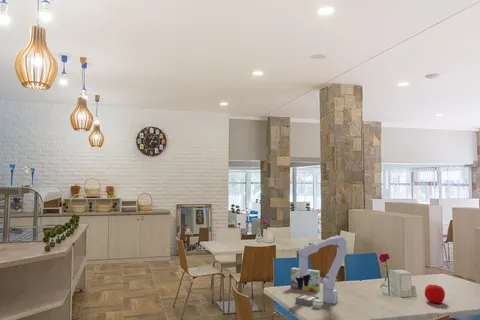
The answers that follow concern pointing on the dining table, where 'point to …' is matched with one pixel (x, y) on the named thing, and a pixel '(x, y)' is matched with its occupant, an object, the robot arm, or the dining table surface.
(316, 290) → the snack box
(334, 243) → the robot arm
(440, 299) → the tomato
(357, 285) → the dining table surface
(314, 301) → the green banded cube
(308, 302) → the gray square tray
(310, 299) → the tan wooden block
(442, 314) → the dining table surface
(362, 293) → the dining table surface
